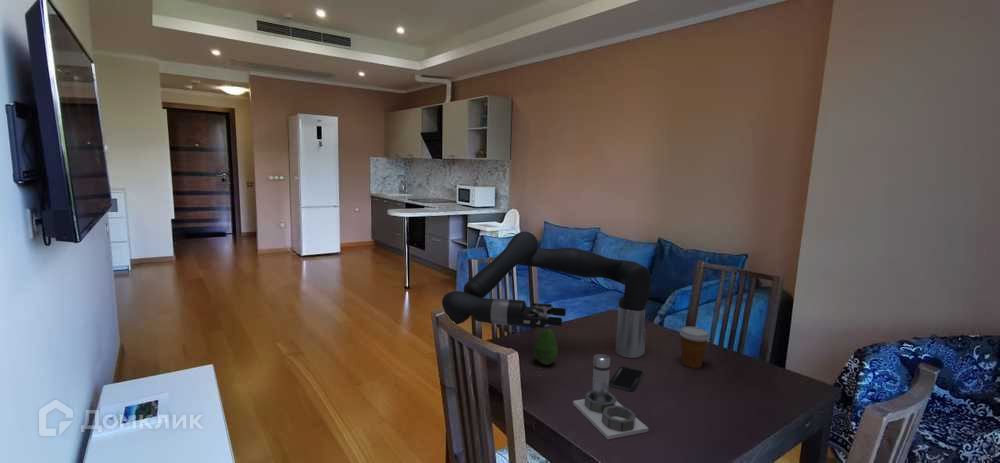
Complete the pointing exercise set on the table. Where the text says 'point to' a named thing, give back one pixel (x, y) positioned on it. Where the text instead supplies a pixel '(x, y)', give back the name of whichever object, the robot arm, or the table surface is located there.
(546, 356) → the avocado
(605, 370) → the tube
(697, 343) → the disposable coffee cup
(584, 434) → the table surface
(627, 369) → the phone
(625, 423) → the hex nut holder
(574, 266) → the robot arm
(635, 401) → the table surface
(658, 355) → the table surface
